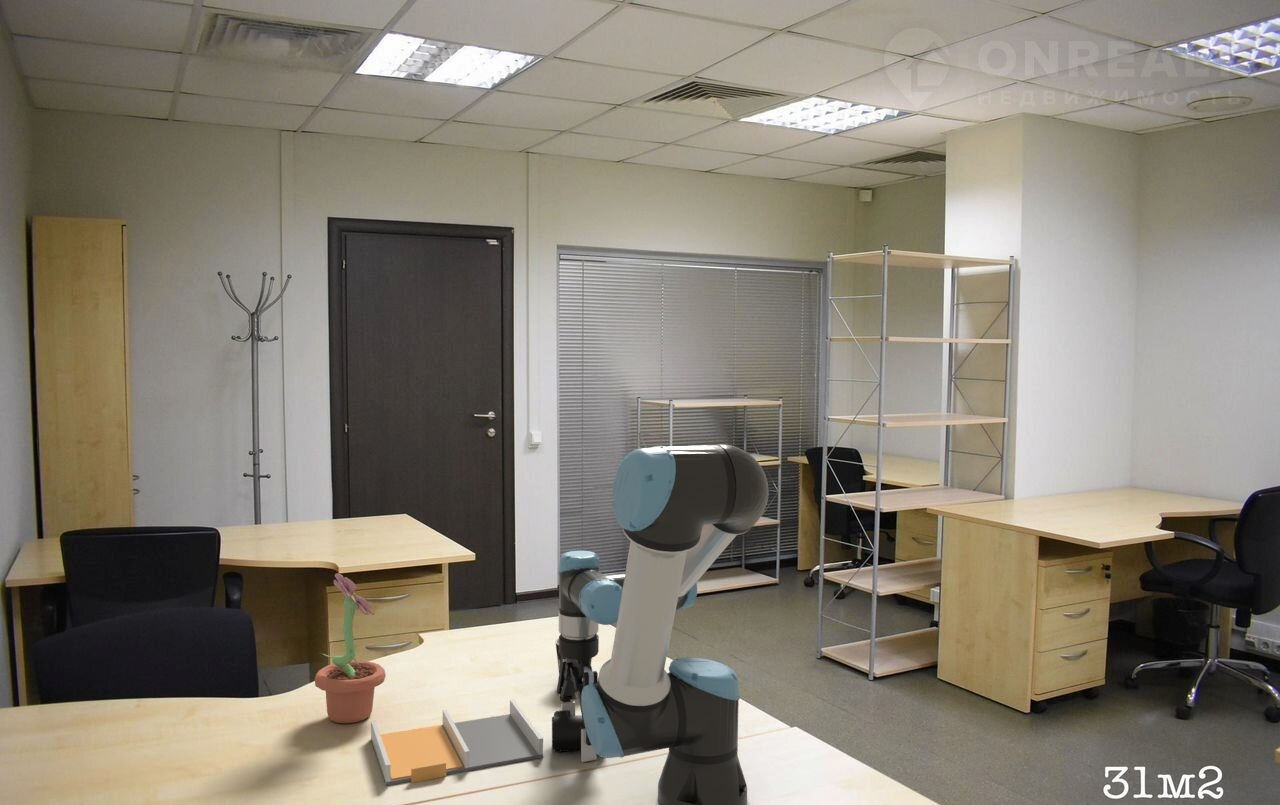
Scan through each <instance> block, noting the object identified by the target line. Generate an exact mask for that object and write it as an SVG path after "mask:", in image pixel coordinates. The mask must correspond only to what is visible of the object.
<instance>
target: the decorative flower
mask: <svg viewBox="0 0 1280 805" xmlns="http://www.w3.org/2000/svg"><path fill="white" fill-rule="evenodd" d="M334 577H335V578H336V579H334V580H333V585H334V586H335V587H336V588H337V589H338V590H340V592H342V594H343V595H344V601H343V606H344V607H345V608H346V609H345V612H344V618H343V627H342V628H343V638H344V645H345V651H346V652H345V654H343V655H335V656H331V655H328V654H325V653H321V652H320V654H322V655H323V656H325V657H328V658H331V659H332V660H331V662H332V664H329V665H326V666H324V667H322V668H321V669H319V670H318V671H317V673H316V674H315V676H314V686H315V687H316V688H318V689H320V690H321V691H325V700H326V712H327V716H328V718H329V720H331V721H332V722H334V723H336V724H337V723H339V724H353V723H358V722H362V721H364V720H366V719H367V718H369V717H370V716H371V714H372V712H373V708H374V697H375V688H376V687H379V686H380V685H381V684H383V683H384V682H385V679H386V671H385V668H384V667H382V666H381V665H380V664H379V663H376V662H373V661H366V660H357V659H356V649H355V648H356V647H355V640H354V634H353V621H354V616H355V612H356V611H359V610H360V612H361V613H362V614H364V616H368V615H369V614H370V615H371V616H374V615H375V613H374V611H373V610H372V606H371V604H370V603H369V602H368V601H367V600H366V598H364V597H362V596H359V595H358V594H356V593H355V591H356V589H357V585H356V584H355V583H354V581H352V579H349V578H348V577H346V576H345V577H344V576H343V575H342V574H341V573H335V574H334Z"/></svg>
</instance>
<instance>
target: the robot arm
mask: <svg viewBox="0 0 1280 805" xmlns="http://www.w3.org/2000/svg"><path fill="white" fill-rule="evenodd" d="M766 475H767V474H766V473H765V471H764V469H763V468H762V466H761V464H760V463H759V462H758V460H757V459H756V458H755V457H753V455H752V454H750V453H749V452H747V451H745V450H744V449H741V448H740V447H737V446H734V445H730V444H725V443H724V444H723V443H722V444H712V445H709V444H706V445H687V446H686V445H685V446H684V445H683V446H682V445H681V446H679V445H678V446H665V445H654V446H651V447H644V448H643V447H641V448H637V449H634V450H632V451H630V452H629V453H627V455H625V456H624V457H623V459H622V461H621V462H620V463H619V466H618V467H617V470H616V473H615V476H614V481H613V485H612V486H613V487H612V497H613V498H614V499H613V502H612V506H613V513H614V516H615V519H616V521H617V524H618V525H619V526H620V527H621V528H622V531H623V534H624V535H625V537H626V538H627V539H628V540H629V541H630V542H629V549H628V553H627V560H626V568H625V572H622V573H621V572H620V573H611V574H603V573H601V572H600V569H601V566H600V557H599V555H598V554H597V553H595V552H593V551H590V550H570V551H566V552H564V553H562V554H561V556H560V558H559V567H558V585H559V586H558V608H559V609H558V633H559V636H558V638H559V654H560V655H561V664H560V671H559V670H558V680H557V686H556V688H557V689H556V695H558V696H559V700H560V710H561V711H566V710H568V711H569V710H570V714H571V715H572V716H576V701H575V700H577V699H578V701H579V706H580V713H581V714H580V715H582V719H583V725H581V726H580V729H581V750H580V752H581V753H580V760H581V762H582V763H586V762H591V761H595V760H597V755H598V756H599V757H601V758H603V759H612V758H613V759H614V758H625V757H627V756H634V755H638V754H644V753H649V752H654V751H659V750H663V749H668V753H667V756H666V760H665V763H664V766H663V767H662V770H661V775H660V777H659V779H658V785H657V800H658V803H659V804H660V805H747V804H748V785H747V782H746V778H745V775H744V772H743V768H742V765H741V762H740V759H739V755H738V754H739V753H738V752H739V751H738V746H739V740H738V739H739V705H740V704H739V701H740V699H741V697H740V696H741V695H740V688H739V678H738V676H737V674H736V672H735V671H734V670H733V669H732V668H730V667H729V666H727V665H726V664H724V663H721V662H718V661H715V660H712V659H707V658H702V657H678V658H675V659H674V660H672V661H671V662H670V664H669V666H668V671H669V672H667V671H666V670H665V667H666V663H667V657H668V652H669V647H670V642H671V636H672V631H673V626H674V620H675V617H676V616H675V615H676V611H679V610H681V609H689V608H691V607H693V605H694V604H695V603H696V600H697V599H696V597H697V595H698V584H697V583H698V581H699V580H700V579H701V577H702V576H703V575H704V574H705V573H706V572H707V570H708V569H709V568H710V567H711V566H712V565H713V563H714V562H715V561H716V560H717V559H718V557H719V556H721V554H722V553H723V551H725V549H726V548H727V547H728V546H729V545H730V544H731V542H732V541H733V540H734V539H735V538H736V536H740V535H743V534H745V533H747V532H749V531H751V529H752V528H754V526H755V525H756V524H757V523H758V521H759V520H760V519H761V517H762V516H763V514H764V513H765V510H766V507H767V506H768V502H769V501H768V500H769V494H770V493H769V492H770V491H769V483H768V479H767V476H766ZM615 623H616V627H615V631H614V632H615V633H614V640H613V645H612V651H611V658H609V659H608V660H607V661H605V662H604V663H603V664H602V665H601V667H600V669H599V672H598V671H597V670H593V668H592V667H593V666H592V664H591V665H590V659H591V658H592V659H593V658H594V657H596V656H598V654H599V650H600V649H599V643H600V642H599V639H600V638H599V637H600V636H599V635H598V633H599V627H600V626H599V625H602V626H608V625H613V624H615ZM576 692H577V695H578V698H577V696H576Z"/></svg>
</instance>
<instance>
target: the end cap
mask: <svg viewBox="0 0 1280 805" xmlns="http://www.w3.org/2000/svg"><path fill="white" fill-rule="evenodd" d="M581 725H583V719H582V714H578V715H576V714H575V716H572V715H571V714H570V710H569V711H568V710H566V711H561V709H560V710H556V711H554V712H553V716H552V717H551V749H552V750H554V752H555V753H556V752H573V751H574V752H576V751H579V752H581V729H580V726H581Z"/></svg>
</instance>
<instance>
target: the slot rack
mask: <svg viewBox="0 0 1280 805" xmlns="http://www.w3.org/2000/svg"><path fill="white" fill-rule="evenodd" d="M370 740H371V743H372V744H371V745H372V746H373V750H374V752H375V755H376V759H377V762H378V765H379V769H380V771H381V774H382V777H383V781H384V784H385V786H391V785H396V784H403V783H409V782H411V783H416V782H423V781H428V780H432V779H433V780H434V779H439V778H444V777H447V775H453V774H456V773H463V772H469V771H474V770H479V769H485V768H486V769H487V768H491V767H495V766H496V767H497V766H502V765H507V764H514V763H519V762H523V761H524V762H525V761H529V760H530V761H531V760H536V759H541V758H544V738H543V736H542V735H541V733H540V732H539V731H538V730H537V729H536V727H535V726H534V724H533V723H532V721H531V720H530V719H529V718H528V717H527V715H526V714H525V712H524V711H523V710H522V709H521V707H520V705H519V704H518V703H517V702H516V701H515V699H509V713H508V714H502V715H495V716H491V717H484V718H483V717H482V718H478V719H470V720H465V721H459V722H454V720H453V719H452V717H451V715H450V713H449V711H448V709H443V710H442V724H439V725H432V726H427V727H420V728H414V729H407V730H402V731H395V732H394V731H393V732H388V733H383V734H381V733H380V730H379V728H378V725H377V722H376V720H370Z"/></svg>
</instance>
